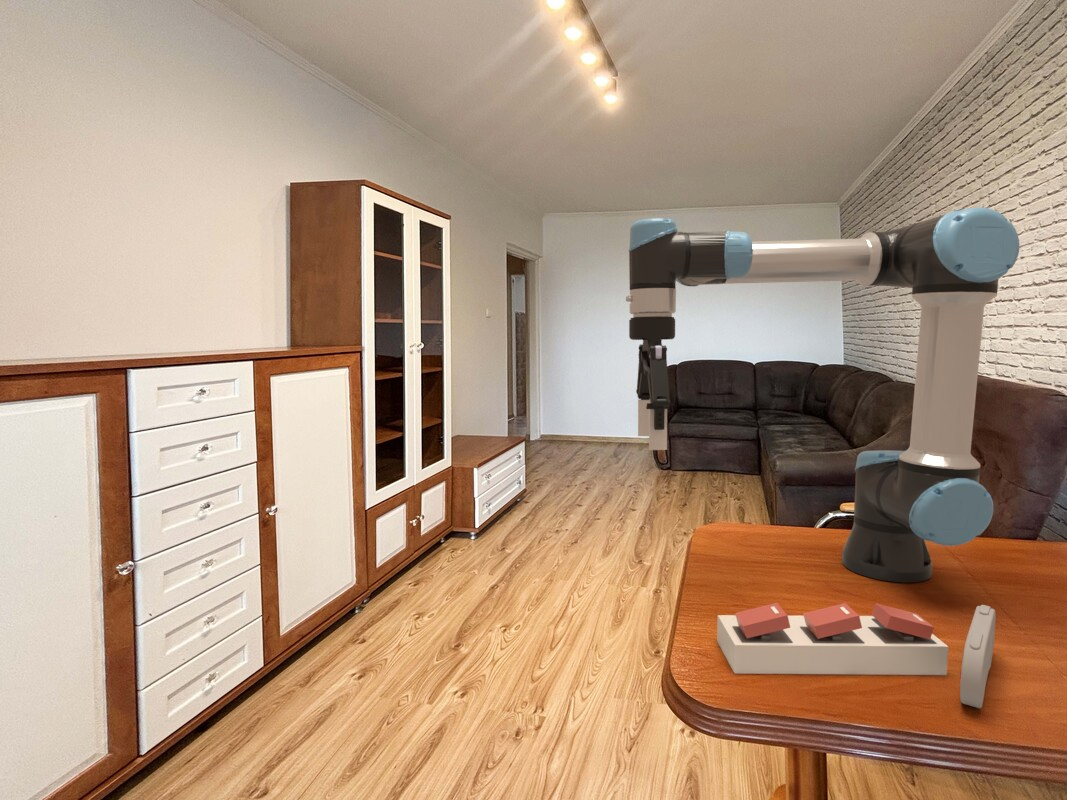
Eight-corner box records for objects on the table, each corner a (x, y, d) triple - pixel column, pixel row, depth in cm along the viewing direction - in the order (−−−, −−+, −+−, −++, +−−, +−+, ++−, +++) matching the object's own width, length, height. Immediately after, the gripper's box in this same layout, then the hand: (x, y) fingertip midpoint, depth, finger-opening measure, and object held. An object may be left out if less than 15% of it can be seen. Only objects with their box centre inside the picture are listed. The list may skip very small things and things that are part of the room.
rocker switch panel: (908, 642, 92) (910, 611, 92) (946, 675, 83) (948, 641, 83) (716, 640, 93) (717, 610, 93) (734, 673, 84) (735, 640, 84)
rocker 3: (912, 625, 88) (917, 613, 88) (929, 639, 84) (934, 626, 84) (871, 614, 88) (875, 602, 88) (886, 628, 84) (891, 615, 84)
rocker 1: (779, 614, 88) (776, 601, 88) (790, 627, 84) (787, 614, 84) (738, 624, 89) (734, 612, 88) (746, 638, 85) (743, 625, 84)
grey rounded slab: (973, 650, 90) (977, 595, 89) (993, 655, 88) (997, 599, 88) (956, 713, 75) (960, 647, 74) (979, 721, 74) (983, 653, 73)
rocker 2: (848, 614, 88) (845, 602, 88) (862, 628, 84) (859, 614, 84) (806, 625, 88) (802, 612, 88) (817, 638, 84) (814, 625, 84)
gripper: (621, 318, 116) (621, 431, 118) (639, 313, 91) (638, 456, 94) (662, 317, 116) (661, 430, 118) (690, 312, 91) (689, 456, 93)
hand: (651, 442), depth 106 cm, fingers open, 13 cm apart
